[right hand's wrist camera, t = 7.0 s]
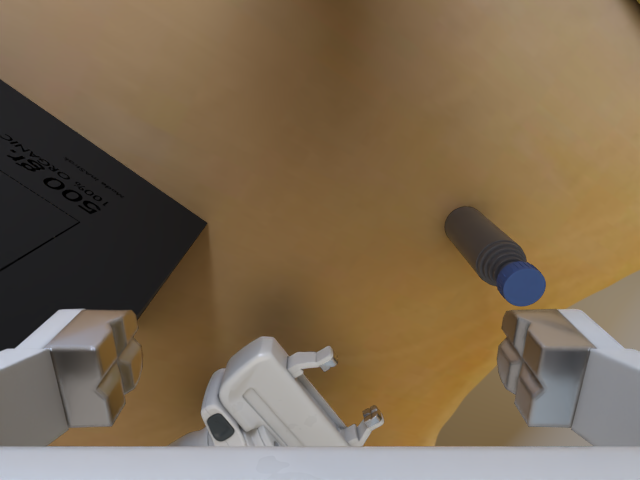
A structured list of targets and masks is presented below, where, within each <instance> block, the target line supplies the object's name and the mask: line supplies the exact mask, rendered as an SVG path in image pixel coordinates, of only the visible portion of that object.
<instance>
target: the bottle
mask: <svg viewBox="0 0 640 480" xmlns="http://www.w3.org/2000/svg"><path fill="white" fill-rule="evenodd" d="M445 232H446V235H447V236H448V238H449V239H450V240H451V241H452V243H453V244H454V245H455V246H456V248H457V249H458V250H459V252H460V253H461V254H462V255H463V257H464V258H465V259H466V260H467V262H468V263H469V264H470V265H471V267H472V268H473V269H474V270H475V272H476V273H477V274H478V275H479V277H480V278H481V279H482V280H483V281H485V282H487V283H488V284H490V285H493V286H497V285H496V284H497V281H496V280H497V277H498V274H499V273H500V271H501V270H502V269H503V268H504V267H505V266H507V265H508V264H510V263H512V262H517V261H524V262H526V256H525V254H524V252H523V250H522V248H521V247H520V246H519V245H518V244H517V243H515V242H514V241H513V240H512V239H511V238H510V237H508V236H507V235H506V234H505V233H504V232H503V231H501V230H500V229H499V228H498V227H497V226H495V225H494V224H493V223H492V222H491V221H490V220H488V219H487V218H486V217H485V216H484V215H483V214H481V213H480V212H479V211H478V210H476V209H475V208H472V207H460V208H458V209H456V210H454V211H453V212H452V213H450V215H449V216H448V217H447V219H446V222H445Z"/></svg>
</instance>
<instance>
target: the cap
mask: <svg viewBox="0 0 640 480" xmlns="http://www.w3.org/2000/svg"><path fill="white" fill-rule="evenodd" d="M496 281H497V284H496V285H497V287H498V288H497V289H498V290H499V292H500V294H501V295H502V296H503V297H504V298H505V299H506V300H507V301H508V302H509V303H511V304H513V305H515V306H527V305H530V304H533V303H534V302H536V301H537V300H539V299H540V297H541V296H542V295H543V293H544V291H545V287H546V283H545V279H544V277H543V275H542V274H541V272H540V271H538V269H536V268H535V267H534V266H533V265H532V264H529V263H528V262H524V261H517V262H512V263H510V264H508V265H507V266H505V267H504V268H503V269H502V270H501V271H500V273H499V274H498V277H497V280H496Z"/></svg>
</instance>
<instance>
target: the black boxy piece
mask: <svg viewBox="0 0 640 480" xmlns="http://www.w3.org/2000/svg"><path fill="white" fill-rule="evenodd" d="M18 144H20V145H18ZM21 145H22V146H23V147H22V148H21ZM27 149H29V150H30V151H29V150H27ZM11 150H12V151H11ZM14 151H16V152H15V153H14ZM31 152H33V154H32V156H31ZM34 154H35V155H36V156H35V155H34ZM19 156H20V158H22V157H24V158H23V159H21V160H20V159H19ZM28 159H31V162H29V161H30V160H29V161H27V160H28ZM43 159H44V160H45V161H44V160H43ZM46 161H47V162H46ZM49 163H50V166H49ZM33 164H35V165H34V166H33ZM38 164H39V165H38ZM23 166H25V167H26V168H24V167H23ZM33 167H34V168H36V169H37V168H38V167H39V169H38V170H36V169H34V168H33ZM41 167H42V169H44V168H45V170H42V169H41ZM53 167H55V168H54V169H55V171H54V169H52V168H53ZM57 169H59V170H57ZM30 170H31V171H30ZM61 172H62V173H61ZM63 173H64V174H63ZM65 174H67V175H65ZM9 176H10V177H9ZM68 176H69V177H70V178H69V177H68ZM45 178H46V181H47V182H48V183H47V186H46V185H45V183H46V181H44V180H45ZM52 178H55V179H53V180H52ZM66 178H68V179H66ZM56 179H58V181H61V182H62V183H60V182H58V181H56ZM15 180H16V181H15ZM43 181H44V182H43ZM18 182H19V183H18ZM63 183H64V185H65V188H64V185H63V187H62V184H63ZM23 185H24V186H23ZM29 189H30V190H29ZM35 193H36V194H35ZM40 196H41V197H40ZM43 198H44V199H43ZM51 203H52V204H51ZM55 206H56V207H55ZM58 208H59V209H58ZM64 212H66V213H64ZM68 214H69V215H68ZM206 225H207V223H206V222H205V221H203V220H202V219H201V218H199V217H198V216H196V215H195V214H193V213H192V212H190V211H189V210H188V209H186V208H185V207H183V206H182V205H180V204H179V203H178V202H176V201H175V200H173V199H172V198H170V197H169V196H167V195H166V194H165V193H163V192H162V191H160V190H159V189H157V188H156V187H154V186H153V185H152V184H150V183H149V182H147V181H146V180H144V179H143V178H141V177H140V176H139V175H137V174H136V173H134V172H133V171H131V170H130V169H129V168H127V167H126V166H124V165H123V164H121V163H120V162H118V161H117V160H116V159H114V158H113V157H111V156H110V155H108V154H107V153H105V152H104V151H103V150H101V149H100V148H98V147H97V146H95V145H94V144H92V143H91V142H90V141H88V140H87V139H85V138H84V137H82V136H81V135H80V134H78V133H77V132H75V131H74V130H72V129H71V128H69V127H68V126H67V125H65V124H64V123H62V122H61V121H59V120H58V119H56V118H55V117H54V116H52V115H51V114H49V113H48V112H46V111H45V110H43V109H42V108H41V107H39V106H38V105H36V104H35V103H33V102H32V101H30V100H29V99H28V98H26V97H25V96H23V95H22V94H20V93H19V92H18V91H16V90H15V89H13V88H12V87H10V86H9V85H7V84H6V83H5V82H3V81H2V80H0V351H3V350H5V349H15V348H16V347H17V346H18V345H20V344H21V343H22V342H23V341H24V340H25V339H26V338H27V337H29V336H30V335H31V334H32V333H33V332H34V331H35V330H37V329H38V328H39V327H40V326H41V325H42V324H43V323H44V322H46V321H47V320H48V319H49V318H50V317H51V316H52V315H54V314H55V313H56V312H57V311H58V310H62V309H105V310H132V311H133V312H134V313H135V314H136V318H137V320H138V318H139V317H140V315H141V314H142V313H143V311H144V310H145V309H146V307H147V306H148V304H149V303H150V302H151V300H152V299H153V298H154V296H155V295H156V293H157V292H158V291H159V289H160V288H161V287H162V285H163V284H164V282H165V281H166V280H167V278H168V277H169V276H170V274H171V273H172V271H173V270H174V269H175V267H176V266H177V265H178V263H179V262H180V260H181V259H182V258H183V256H184V255H185V254H186V252H187V251H188V249H189V248H190V247H191V245H192V244H193V243H194V241H195V240H196V238H197V237H198V236H199V234H200V233H201V232H202V230H203V229H204V227H205V226H206ZM54 236H55V238H53V237H54Z"/></svg>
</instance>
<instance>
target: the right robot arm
mask: <svg viewBox="0 0 640 480" xmlns="http://www.w3.org/2000/svg"><path fill="white" fill-rule="evenodd" d="M501 328H502V330H503V331H504V333H505V335H506V336H507V338H506V339H505V340H504V341H503V342H502V343H501V344H500V345H499V346H498V354H497V365H498V373H499V376H500V379H501V381H502V383H503V385H504V387H505V388H506V389H507V390H509V391H510V392H512V393H513V394H515V395H516V397H515V402H514V404H515V405H516V407H517V409H518V410H519V412H520V413H521V415H522V417H523V418H524V420H525V422H526V423H527V425H528V426H531V427H567V428H572V429H571V430H573V431H574V432H575V433H577V434H578V435H580V436H581V437H582V438H583V439H585V440H586V441H588V442H589V443H590V444H592V445H593V446H47V445H49V444H50V443H51V442H53V441H54V440H55V439H57V438H58V437H59V436H61V435H62V434H63V433H65V432H66V431H67V430H68V428H73V427H108V426H112V425H113V423H114V422H115V420H116V418H117V417H118V415H119V413H120V412H121V410H122V409H123V407H124V405H125V404H126V402H125V397H124V395H125V394H127V393H128V392H130V391H131V390H133V389H134V388H135V387H136V385H137V383H138V381H139V379H140V375H141V371H142V367H143V353H142V346H141V345H140V344H139V343H138V342H137V341H136V340H135V339H134V338H133V336H134V335H135V333H136V331H137V330H138V323H137V318H136V314H135V313H134V312H133V311H132V310H105V309H62V310H58V311H57V312H56V313H55V314H54V315H52V316H51V317H50V318H49V319H48V320H47V321H46V322H44V323H43V324H42V325H41V326H40V327H39V328H38V329H37V330H35V331H34V332H33V333H32V334H31V335H30V336H29V337H27V338H26V339H25V340H24V341H23V342H22V343H21V344H20V345H18V346H17V347H16V348H15V349H5V350H3V351H0V480H640V351H637V350H635V349H625V348H624V347H623V346H622V345H621V344H619V343H618V342H617V341H616V340H615V339H614V338H613V337H611V336H610V335H609V334H608V333H607V332H606V331H605V330H604V329H602V328H601V327H600V326H599V325H598V324H597V323H596V322H594V321H593V320H592V319H591V318H590V317H589V316H588V315H587V314H585V313H584V312H583V311H582V310H579V309H538V310H510V311H506V313H505V315H504V317H503V322H502V327H501Z"/></svg>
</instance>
